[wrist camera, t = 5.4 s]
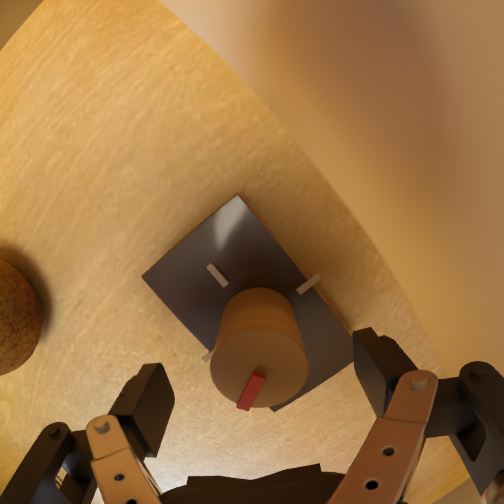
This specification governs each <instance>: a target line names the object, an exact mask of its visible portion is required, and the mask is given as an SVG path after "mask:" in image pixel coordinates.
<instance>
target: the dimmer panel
mask: <svg viewBox="0 0 504 504" xmlns="http://www.w3.org/2000/svg"><path fill="white" fill-rule="evenodd" d="M142 278H143V279H144V281H145V282H146V283H147V284H148V285H149V287H150V288H151V289H152V290H153V291H154V292H155V293H156V295H157V296H158V297H159V298H160V299H161V300H162V301H163V302H164V304H165V305H166V306H167V307H168V308H169V309H170V310H171V311H172V312H173V314H174V315H175V316H176V317H177V318H178V319H179V320H180V321H181V322H182V323H183V324H184V325H185V327H186V328H187V329H188V330H189V331H190V332H191V333H192V334H193V335H194V336H195V337H196V338H197V339H198V340H199V341H200V342H201V343H202V344H203V345H204V346H205V347H206V348H207V349H208V350H209V351H210V352H209V353H208V354H206V355H205V356H203V357H202V359H203V360H204V361H205V362H207V361H209V360H210V359H211V358H212V354H213V350H214V346H215V342H216V338H217V334H218V330H219V326H220V322H221V318H222V314H223V311H224V308H225V306H226V305H227V303H228V302H229V300H230V299H231V298H232V297H233V296H235V295H236V294H238V293H239V292H241V291H243V290H246V289H250V288H256V287H261V288H268V289H272V290H274V291H277V292H278V293H280V294H282V295H283V296H284V297H285V298H286V299H287V300H288V301H289V303H290V304H291V306H292V308H293V310H294V313H295V317H296V320H297V323H298V327H299V330H300V334H301V337H302V341H303V344H304V348H305V351H306V355H307V358H308V363H309V370H308V375H307V378H306V381H305V383H304V385H303V386H302V388H301V389H300V390H299V391H298V392H297V393H296V394H295V395H294V396H293V397H292V398H290V399H289V400H287V401H285V402H283V403H281V404H278V405H275V406H270V407H269V408H270V409H271V410H272V411H273V412H276V411H277V410H279V409H281V408H283V407H284V406H286V405H288V404H289V403H291V402H293V401H294V400H296V399H298V398H299V397H301V396H303V395H304V394H306V393H307V392H309V391H311V390H312V389H314V388H315V387H317V386H318V385H320V384H321V383H323V382H324V381H326V380H327V379H329V378H330V377H332V376H333V375H335V374H336V373H338V372H339V371H341V370H342V369H344V368H345V367H346V366H348V365H349V364H351V363H352V362H354V356H353V338H352V332H351V331H350V329H349V328H348V327H347V325H346V324H345V323H344V321H343V320H342V319H341V318H340V316H339V315H338V314H337V312H336V311H335V310H334V308H333V307H332V306H331V305H330V303H329V302H328V301H327V299H326V298H325V297H324V296H323V294H322V293H321V292H320V290H319V289H318V288H317V287H316V285H315V283H317V282H318V281H319V280H321V278H320V276H319V275H318V274H315V275H314V276H313V277H311V278H309V276H308V275H307V274H306V273H305V271H304V270H303V269H302V268H301V266H300V265H299V264H298V262H297V261H296V260H295V259H294V257H293V256H292V255H291V254H290V252H289V251H288V250H287V249H286V247H285V246H284V245H283V244H282V242H281V241H280V240H279V239H278V237H277V236H276V235H275V234H274V232H273V231H272V230H271V229H270V228H269V226H268V225H267V224H266V223H265V221H264V220H263V219H262V218H261V216H260V215H259V214H258V213H257V212H256V210H255V209H254V208H253V207H252V205H251V204H250V203H249V202H248V201H247V199H246V198H245V197H244V196H243V195H242V193H238V194H236V195H234V196H233V197H232V198H231V199H230V200H228V201H227V202H226V203H225V204H224V205H222V206H221V207H220V208H219V209H218V210H216V211H215V212H214V213H213V214H212V215H210V216H209V217H208V218H207V219H206V220H205V221H203V222H202V223H201V224H200V225H199V226H197V227H196V228H195V229H194V230H193V231H192V232H190V233H189V234H188V235H187V236H186V237H185V238H184V239H182V240H181V241H180V242H179V243H178V244H177V245H176V246H174V247H173V248H172V249H171V250H170V251H169V252H168V253H167V254H165V255H164V256H163V257H162V258H161V259H160V260H159V261H158V262H156V263H155V264H154V265H153V266H152V267H151V268H150V269H149V270H148V271H146V272H145V273H144V274H143V275H142Z"/></svg>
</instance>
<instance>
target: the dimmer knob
mask: <svg viewBox="0 0 504 504" xmlns="http://www.w3.org/2000/svg"><path fill="white" fill-rule="evenodd" d="M308 370H309V363H308V358H307V355H306V351H305V348H304V344H303V341H302V337H301V334H300V330H299V327H298V323H297V320H296V317H295V313H294V310H293V308H292V306H291V304H290V303H289V301H288V300H287V299H286V298H285V297H284V296H283V295H282V294H280V293H278V292H277V291H274V290H272V289H268V288H261V287H256V288H250V289H246V290H243V291H241V292H239V293H238V294H236V295H235V296H233V297H232V298H231V299H230V300H229V302H228V303H227V305H226V306H225V308H224V311H223V314H222V318H221V322H220V326H219V330H218V334H217V338H216V342H215V346H214V350H213V354H212V358H211V362H210V373H211V377H212V380H213V382H214V384H215V386H216V387H217V389H218V390H219V391H220V392H221V393H222V394H223V395H224V396H225V397H226V398H228V399H229V400H231V401H233V402H235V403H237V408H239V409H242V410H246V411H249V410H250V408H251V407H254V408H263V407H270V406H275V405H278V404H281V403H283V402H285V401H287V400H289V399H290V398H292V397H293V396H294V395H295V394H296V393H297V392H298V391H299V390H300V389H301V388H302V386H303V385H304V383H305V381H306V378H307V375H308Z"/></svg>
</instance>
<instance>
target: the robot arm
mask: <svg viewBox="0 0 504 504" xmlns="http://www.w3.org/2000/svg"><path fill="white" fill-rule="evenodd" d="M352 338H353V356H354V368H355V372H356V375H357V378H358V380H359V382H360V384H361V386H362V388H363V390H364V392H365V394H366V396H367V398H368V400H369V402H370V404H371V406H372V408H373V410H374V412H375V414H376V416H377V419H376V421H375V423H374V425H373V426H372V428H371V430H370V432H369V434H368V436H367V438H366V440H365V442H364V444H363V445H362V447H361V449H360V451H359V452H358V454H357V456H356V458H355V459H354V461H353V463H352V465H351V466H350V468H349V470H348V471H347V473H346V474H342V473H336V472H321V467H320V463H319V464H314V465H308V466H303V467H297V468H291V469H286V470H283V471H280V472H277V473H274V474H271V475H267V476H264V477H261V478H257V479H254V480H247V479H238V478H231V477H224V476H188V480H187V485H184V486H180V487H176V488H174V489H171V490H169V491H167V492H165V493H163V492H162V491H161V489H160V488H159V486H158V484H157V483H156V481H155V480H154V478H153V476H152V475H151V473H150V471H149V470H148V468H147V466H146V465H145V463H144V459H145V457H155V458H156V457H157V454H158V451H159V448H160V445H161V442H162V439H163V436H164V433H165V430H166V427H167V424H168V421H169V418H170V415H171V412H172V410H173V407H174V403H175V397H174V392H173V389H172V387H171V384H170V382H169V379H168V377H167V374H166V372H165V369H164V367H163V365H162V364H161V363H151V364H144V365H143V366H142V367H141V369H140V371H139V373H138V374H137V375H135V376H133V377H132V378H131V379H130V380H129V381H128V382H127V383H126V384H125V386H124V387H123V389H122V391H121V392H120V394H119V397H117V399H116V401H115V402H114V404H113V406H112V408H111V409H110V411H109V413H108V414H107V415H101V416H98V417H96V418H94V419H93V420H91V421H90V422H89V423H88V424H87V426H86V430H80V431H73V432H71V430H70V429H69V427H68V425H67V424H65V423H63V422H55V423H52V424H50V425H48V426H47V427H45V428H44V429H43V430H42V432H41V433H40V435H39V436H38V438H37V439H36V441H35V442H34V444H33V445H32V447H31V448H30V450H29V451H28V453H27V454H26V456H25V458H24V459H23V461H22V462H21V464H20V465H19V467H18V469H17V470H16V472H15V473H14V475H13V477H12V478H11V480H10V481H9V483H8V485H7V486H6V488H5V490H4V491H3V493H2V495H1V496H0V504H91V502H92V500H93V497H94V494H95V492H96V489H97V486H98V488H99V490H100V493H101V496H102V498H103V501H104V503H105V504H408V503H406V502H404V501H403V500H404V498H405V496H406V494H407V491H408V489H409V486H410V483H411V481H412V478H413V475H414V473H415V470H416V467H417V465H418V462H419V459H420V456H421V453H422V450H423V447H424V444H425V441H426V438H431V437H438V436H445V435H448V436H449V437H450V439H451V441H452V443H453V445H454V446H455V448H456V450H457V452H458V454H459V455H460V457H461V459H462V461H463V463H464V465H465V467H466V468H467V470H468V472H469V474H470V476H471V478H472V480H473V482H474V484H475V486H476V488H477V489H478V492H479V494H480V496H481V497H480V499H479V500H478V502H477V504H504V378H503V376H502V375H500V374H499V372H498V371H497V370H495V368H494V367H493V366H492V365H490V364H488V363H486V362H481V361H475V362H470V363H468V364H466V365H464V366H463V367H462V368H461V370H460V374H459V377H453V378H447V379H437V377H436V375H435V374H433V373H432V372H430V371H426V370H419V369H418V368H417V367H416V366H415V364H414V363H413V362H412V361H411V360H410V358H409V357H408V356H407V355H406V353H404V351H403V350H402V349H401V347H399V345H398V344H397V343H396V341H395V340H394V339H392V338H390V337H387V336H385V335H383V336H380V337H378V336H377V334H376V333H375V332H374V331H373V329H372V328H371V327H368V328H364V329H360V330H356V331H353V334H352ZM61 466H62V467H63V469H64V470H65V471H66V472H67V474H66V476H65V478H64V480H63V482H62V484H61V486H60V488H59V489H58V487H57V486H56V482H55V479H56V476H57V474H58V472H59V470H60V468H61Z"/></svg>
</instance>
